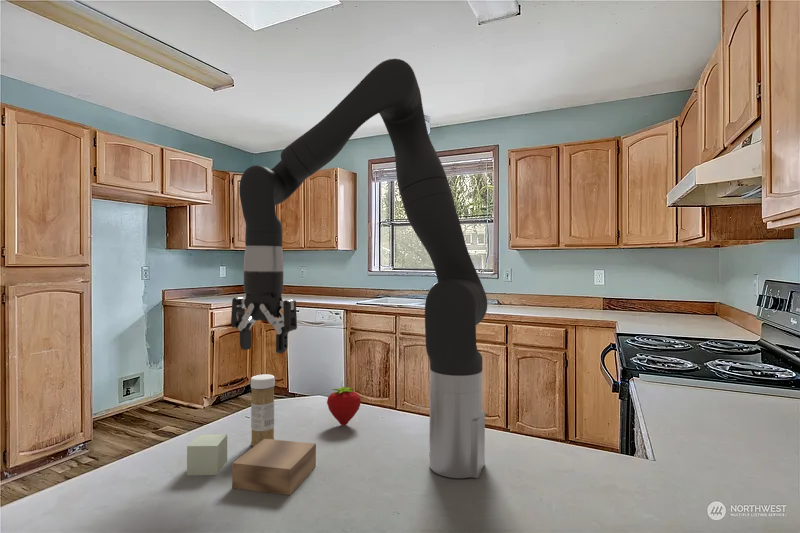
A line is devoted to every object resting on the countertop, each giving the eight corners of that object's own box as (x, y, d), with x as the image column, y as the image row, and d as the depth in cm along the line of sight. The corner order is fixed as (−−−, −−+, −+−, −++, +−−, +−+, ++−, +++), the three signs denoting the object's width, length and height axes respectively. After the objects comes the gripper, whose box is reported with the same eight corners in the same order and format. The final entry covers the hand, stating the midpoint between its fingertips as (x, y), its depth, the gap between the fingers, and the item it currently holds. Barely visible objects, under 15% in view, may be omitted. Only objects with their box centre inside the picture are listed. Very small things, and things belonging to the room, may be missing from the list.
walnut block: (315, 466, 77) (315, 443, 77) (290, 495, 68) (290, 469, 68) (264, 460, 79) (264, 438, 79) (232, 488, 70) (232, 463, 70)
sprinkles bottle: (269, 437, 90) (269, 372, 90) (278, 444, 87) (278, 376, 87) (246, 443, 87) (247, 375, 87) (255, 450, 84) (255, 380, 84)
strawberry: (360, 430, 94) (360, 384, 94) (325, 430, 94) (325, 384, 94) (361, 420, 100) (361, 377, 100) (328, 420, 100) (328, 377, 100)
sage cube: (227, 462, 79) (227, 434, 79) (217, 475, 74) (217, 445, 74) (198, 462, 79) (199, 434, 79) (186, 475, 74) (187, 446, 74)
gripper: (305, 269, 88) (304, 350, 88) (248, 268, 93) (247, 345, 93) (281, 270, 81) (280, 357, 81) (221, 269, 86) (221, 351, 86)
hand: (263, 350), depth 87 cm, fingers open, 8 cm apart
